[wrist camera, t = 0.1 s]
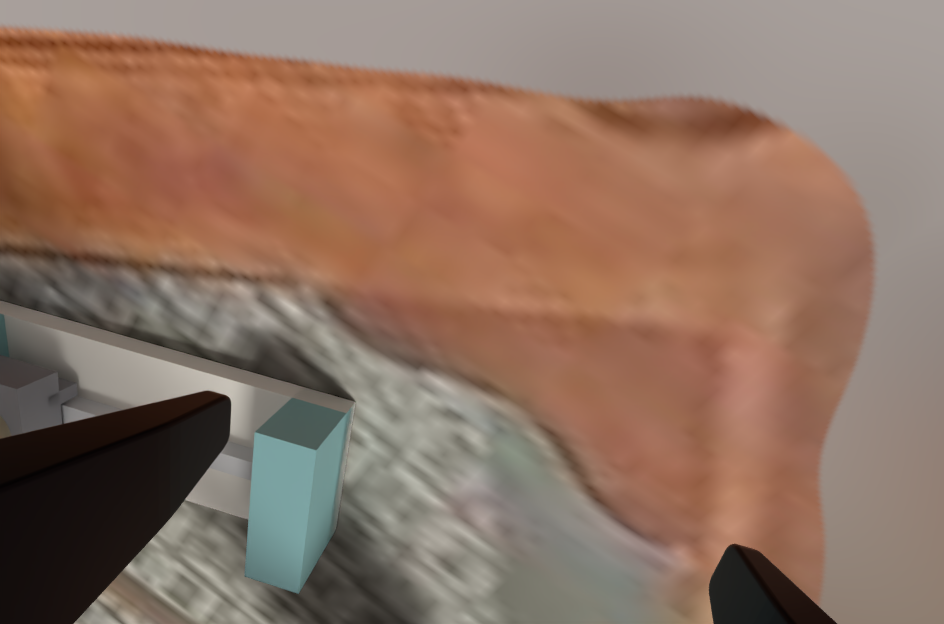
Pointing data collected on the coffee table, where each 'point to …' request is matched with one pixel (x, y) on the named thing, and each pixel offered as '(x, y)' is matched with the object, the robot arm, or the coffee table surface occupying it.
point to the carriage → (30, 397)
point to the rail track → (250, 442)
